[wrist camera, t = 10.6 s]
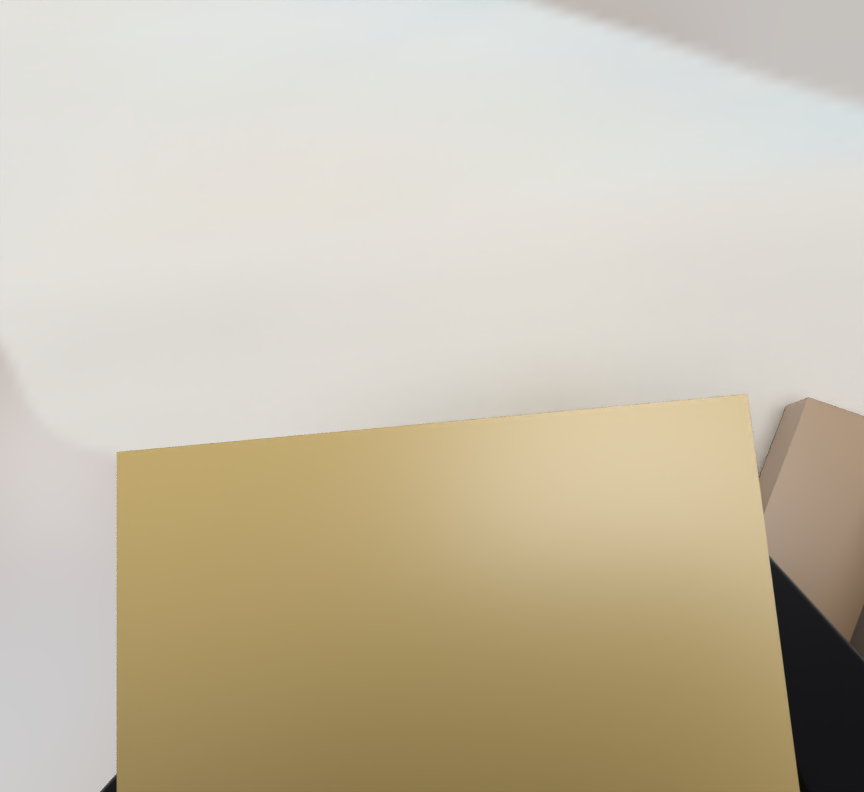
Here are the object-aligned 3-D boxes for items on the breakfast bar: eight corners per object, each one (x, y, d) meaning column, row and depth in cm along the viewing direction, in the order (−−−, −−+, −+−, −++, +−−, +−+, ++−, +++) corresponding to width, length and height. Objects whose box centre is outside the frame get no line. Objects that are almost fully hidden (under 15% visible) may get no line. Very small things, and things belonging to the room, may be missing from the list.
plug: (678, 704, 13) (890, 1490, 3) (480, 702, 13) (117, 1285, 4) (651, 458, 13) (746, 393, 3) (464, 472, 14) (116, 452, 4)
